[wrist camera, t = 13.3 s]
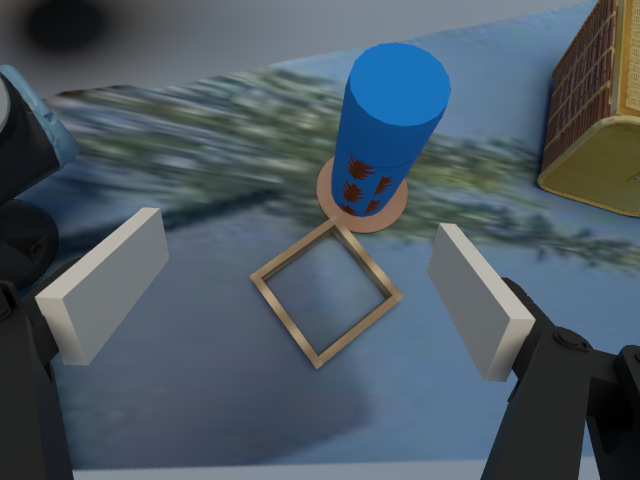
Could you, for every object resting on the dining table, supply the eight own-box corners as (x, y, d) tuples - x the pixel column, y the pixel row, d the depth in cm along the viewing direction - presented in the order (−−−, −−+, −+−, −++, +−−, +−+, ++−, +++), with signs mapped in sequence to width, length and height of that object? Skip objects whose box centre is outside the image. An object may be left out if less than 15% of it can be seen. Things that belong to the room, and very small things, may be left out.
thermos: (355, 150, 60) (389, 25, 36) (403, 185, 58) (472, 78, 34) (317, 192, 57) (326, 86, 33) (366, 230, 55) (413, 148, 32)
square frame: (253, 280, 53) (249, 276, 49) (333, 222, 56) (335, 214, 52) (315, 367, 50) (316, 369, 46) (396, 300, 53) (404, 297, 49)
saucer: (298, 181, 58) (298, 180, 58) (367, 135, 62) (367, 133, 61) (355, 251, 55) (356, 250, 54) (425, 198, 58) (426, 197, 58)
